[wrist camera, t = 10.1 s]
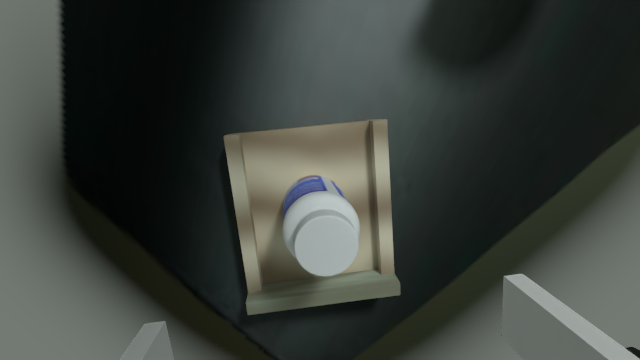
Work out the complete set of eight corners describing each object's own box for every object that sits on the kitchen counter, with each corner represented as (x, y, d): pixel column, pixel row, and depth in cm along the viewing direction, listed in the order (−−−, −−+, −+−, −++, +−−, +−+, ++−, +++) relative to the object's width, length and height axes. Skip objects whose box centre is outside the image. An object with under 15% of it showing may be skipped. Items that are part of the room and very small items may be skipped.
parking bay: (229, 134, 28) (218, 137, 24) (379, 119, 29) (392, 120, 25) (253, 289, 31) (247, 315, 28) (387, 272, 32) (400, 294, 28)
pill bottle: (275, 221, 29) (268, 275, 19) (294, 165, 28) (296, 193, 18) (332, 238, 30) (351, 298, 20) (352, 184, 29) (383, 220, 19)
